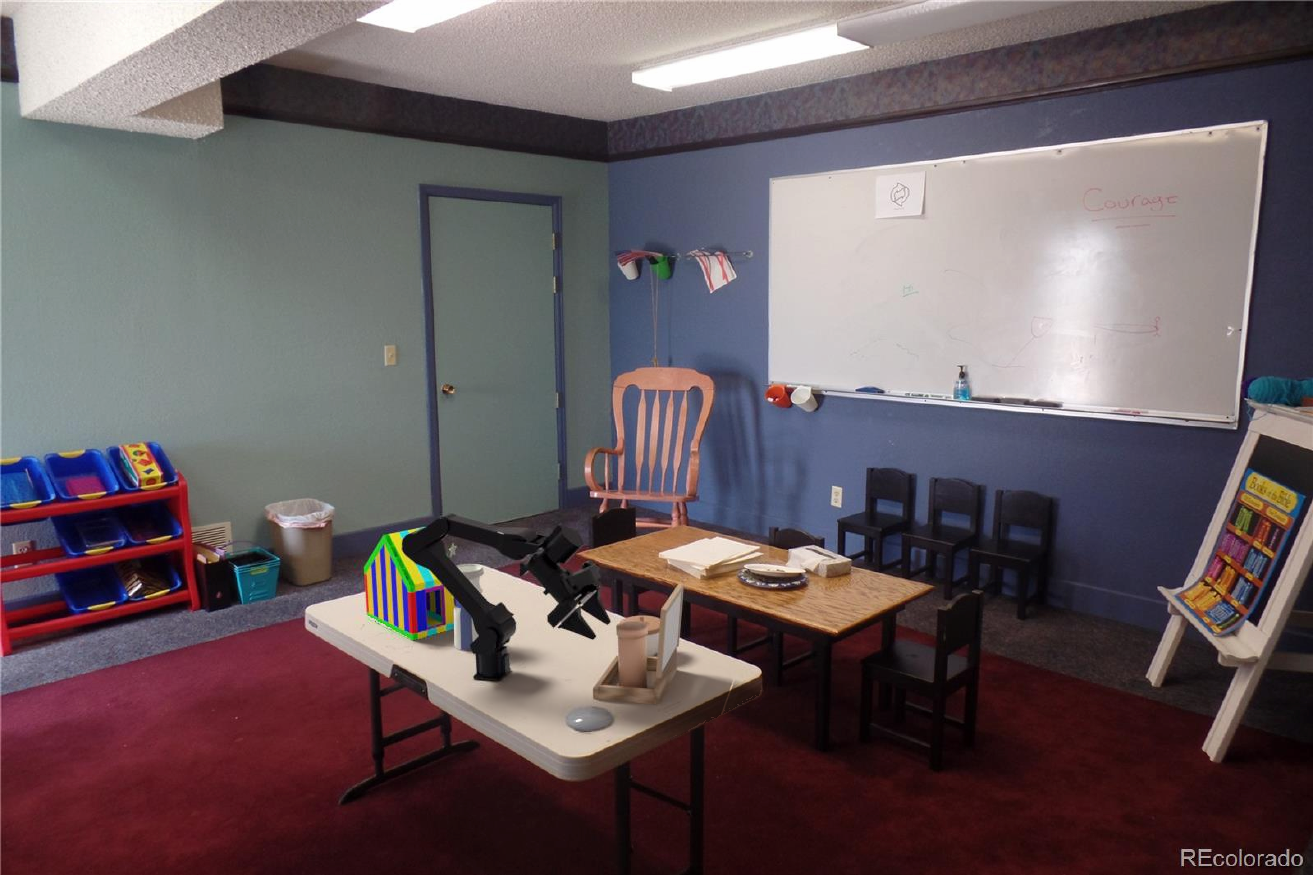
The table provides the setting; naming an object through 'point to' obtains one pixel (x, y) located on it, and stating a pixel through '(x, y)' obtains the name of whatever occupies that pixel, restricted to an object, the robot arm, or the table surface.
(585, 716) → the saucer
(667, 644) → the lid
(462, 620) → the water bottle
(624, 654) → the tan cylindrical canister
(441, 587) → the toy house
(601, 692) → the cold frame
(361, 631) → the table surface
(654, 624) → the lidded jar
